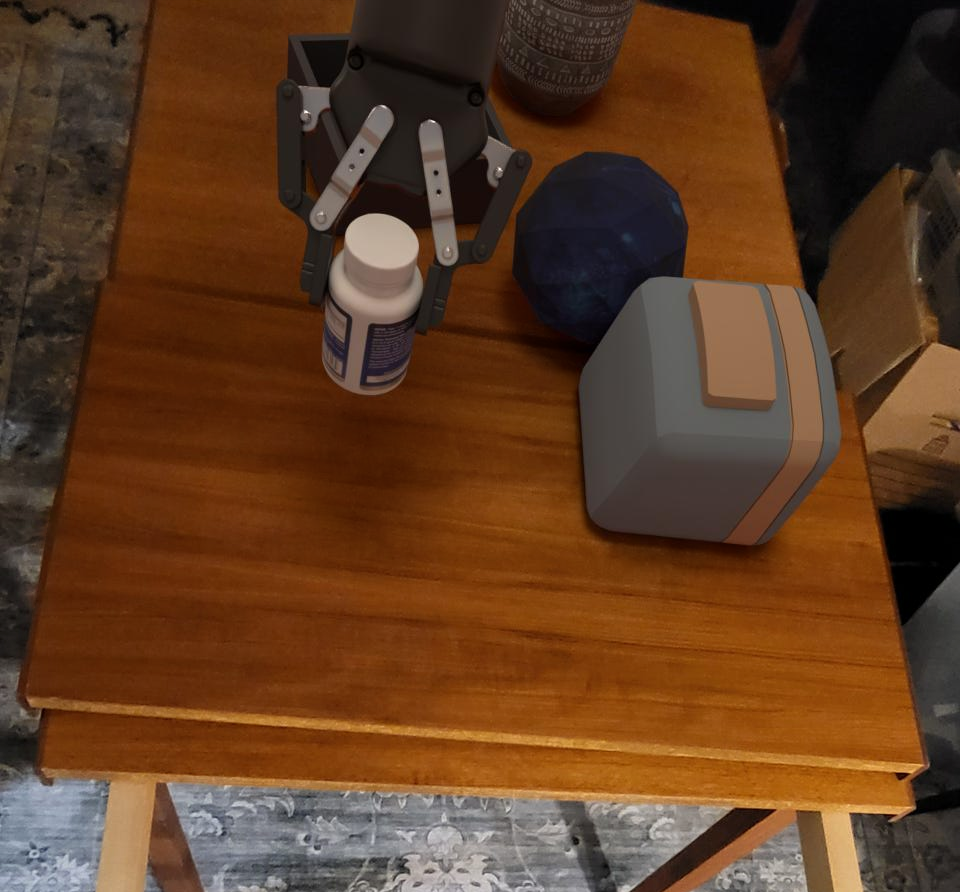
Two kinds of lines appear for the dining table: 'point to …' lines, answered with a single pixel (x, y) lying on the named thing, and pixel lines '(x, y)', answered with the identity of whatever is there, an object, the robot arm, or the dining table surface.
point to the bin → (320, 66)
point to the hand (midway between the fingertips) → (369, 318)
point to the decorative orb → (596, 240)
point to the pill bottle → (372, 305)
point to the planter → (560, 50)
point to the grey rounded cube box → (708, 411)
